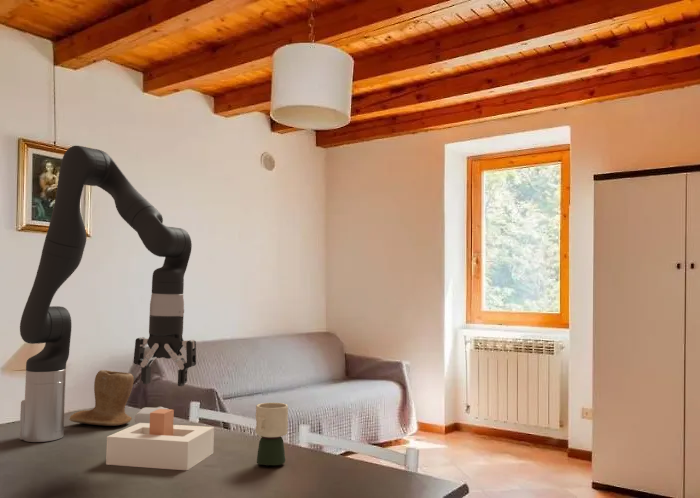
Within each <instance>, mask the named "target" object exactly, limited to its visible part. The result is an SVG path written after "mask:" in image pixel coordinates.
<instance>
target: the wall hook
mask: <svg viewBox="0 0 700 498" xmlns="http://www.w3.org/2000/svg"><path fill="white" fill-rule="evenodd" d="M158 409H169V408H167V407H163V406H157V407H149V406H148V407H146V406H145V407H142V408H141V409H140V410H139V411H138V412H137V413H136V414H135V415H134V425H136V424H138V423H150V413H151V412H153V411H156V410H158Z"/></svg>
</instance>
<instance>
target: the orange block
mask: <svg viewBox="0 0 700 498" xmlns="http://www.w3.org/2000/svg"><path fill="white" fill-rule="evenodd" d="M174 412H175V409H169V408H168V409H158V410H156V411H153V412H151V413H150V430H149V434H150V435H166V436H173V425H174V415H175V414H174Z"/></svg>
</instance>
